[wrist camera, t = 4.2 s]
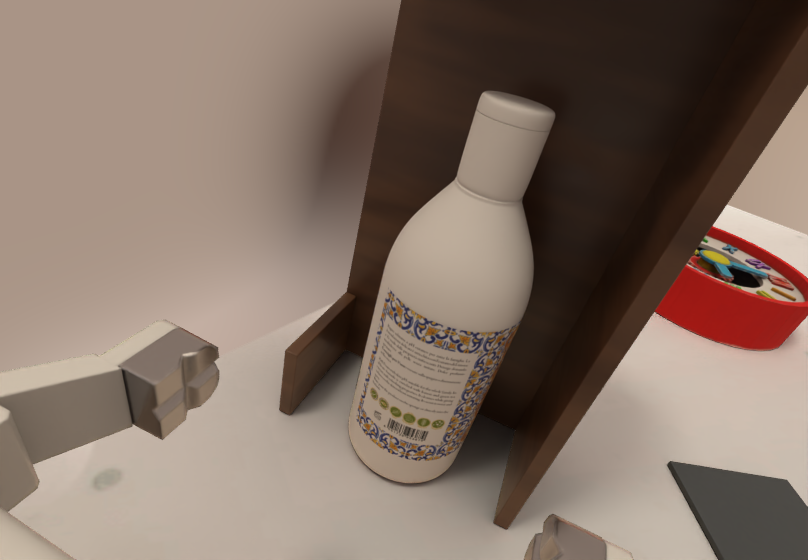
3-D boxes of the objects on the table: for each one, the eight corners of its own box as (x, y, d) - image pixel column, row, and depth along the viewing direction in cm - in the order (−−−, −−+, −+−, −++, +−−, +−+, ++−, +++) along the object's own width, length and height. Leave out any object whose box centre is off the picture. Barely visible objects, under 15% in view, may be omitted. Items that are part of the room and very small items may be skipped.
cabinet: (507, 530, 24) (952, -129, 9) (278, 410, 27) (343, -227, 12) (527, 427, 30) (811, -58, 16) (341, 339, 33) (433, -134, 19)
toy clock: (622, 197, 60) (775, 245, 58) (602, 234, 63) (747, 282, 61) (646, 260, 44) (863, 333, 41) (617, 306, 47) (817, 377, 44)
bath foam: (466, 491, 25) (649, 149, 14) (345, 485, 24) (446, 103, 13) (446, 396, 31) (567, 100, 20) (348, 386, 29) (420, 64, 19)
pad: (901, 639, 24) (908, 636, 23) (751, 621, 23) (757, 618, 22) (783, 482, 31) (787, 479, 31) (666, 464, 30) (670, 460, 30)
